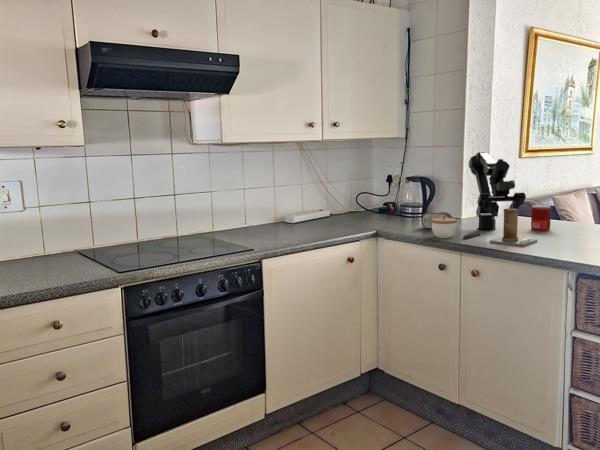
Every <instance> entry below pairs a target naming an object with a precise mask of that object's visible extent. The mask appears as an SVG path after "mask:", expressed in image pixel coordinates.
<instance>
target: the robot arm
mask: <svg viewBox="0 0 600 450" xmlns="http://www.w3.org/2000/svg"><path fill="white" fill-rule="evenodd" d="M468 168H469V169H470V171H471V174H473V175H474V176H475V179H476V182H477V186H478V193H479V195H478V198H477V208H476V211H475V213H476V215H475V216H477V217H478V227H476V229H477V230H481V231H494V230H496V229H497V227H496V219H495V217H498V215H499V210H500V206H499V204H498V203H499V202H500V203H501V202H505V203H506V202H511V203H512V209H518V210H519V207H521V206H522V205H523V204H524V202H525V200H526V198H527V195H526V193H525V192H514V193H513V195H511V196H510V190H512V189H514V188H516V182H515V179H513V180H512V179H511V180H509V181H508V180H507V181H506V180H504V179H506V177H507V174H508V171H509V169H510V164H509V163H508V162H507V161H505V160H504V159H503V158H499V159H497V160H494V159H493V158H492V157H491V155H490V153H489V152H488V151H478V152H477V153H476V154H475V155H473V156H471V157H470V158H469V161H468ZM488 176H489V177H488ZM487 177H488V178H487ZM488 179H489V180H488ZM489 185H490V186H489ZM490 189H491V190H490ZM491 194H492V195H491Z"/></svg>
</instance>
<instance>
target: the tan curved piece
mask: <svg viewBox="0 0 600 450" xmlns="http://www.w3.org/2000/svg"><path fill="white" fill-rule="evenodd" d="M443 216H445V218H453V216H452V215H451V214H450V213H449V212H446V211H432V210H430V211H427V212H424V213H423V215H422V217H421V224H422V226H423V227H424V228H426V229H428V228H431V229H430V230H432V222H431V219H434V218H443Z"/></svg>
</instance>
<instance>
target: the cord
mask: <svg viewBox="0 0 600 450" xmlns="http://www.w3.org/2000/svg"><path fill="white" fill-rule="evenodd" d="M480 235H481V232H480V231H475V232H472V233H471V232H470V233H468V234H465V235H464V234H463V236H462V239H463V240H467V239H471V238H473V237H474V238H475V237H477V236H480Z"/></svg>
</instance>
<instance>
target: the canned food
mask: <svg viewBox="0 0 600 450" xmlns="http://www.w3.org/2000/svg"><path fill="white" fill-rule="evenodd" d="M530 211H531V216H530V217H531V219H530V229H531V230H532V231H535V232H549V231H550V229H551V218H552V217H551V216H552V214H551V213H552V207H551V205H547V204H546V205H545V204H533V205H532V206H531V210H530Z"/></svg>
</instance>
